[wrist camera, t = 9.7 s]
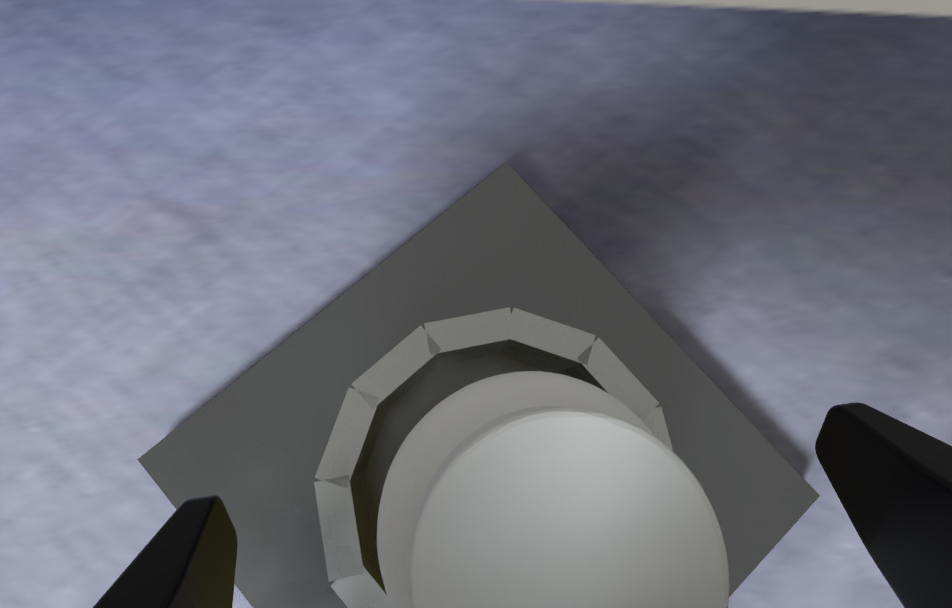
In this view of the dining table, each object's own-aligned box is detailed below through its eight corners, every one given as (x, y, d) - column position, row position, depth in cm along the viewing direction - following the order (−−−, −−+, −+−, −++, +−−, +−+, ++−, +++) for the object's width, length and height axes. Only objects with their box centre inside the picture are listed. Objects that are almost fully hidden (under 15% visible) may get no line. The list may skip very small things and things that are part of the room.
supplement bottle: (362, 457, 16) (263, 504, 7) (517, 354, 17) (622, 268, 8) (466, 628, 16) (518, 948, 6) (622, 511, 17) (880, 628, 7)
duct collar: (468, 857, 15) (480, 1003, 11) (154, 457, 17) (71, 467, 13) (798, 492, 18) (899, 510, 14) (502, 174, 20) (520, 112, 16)
